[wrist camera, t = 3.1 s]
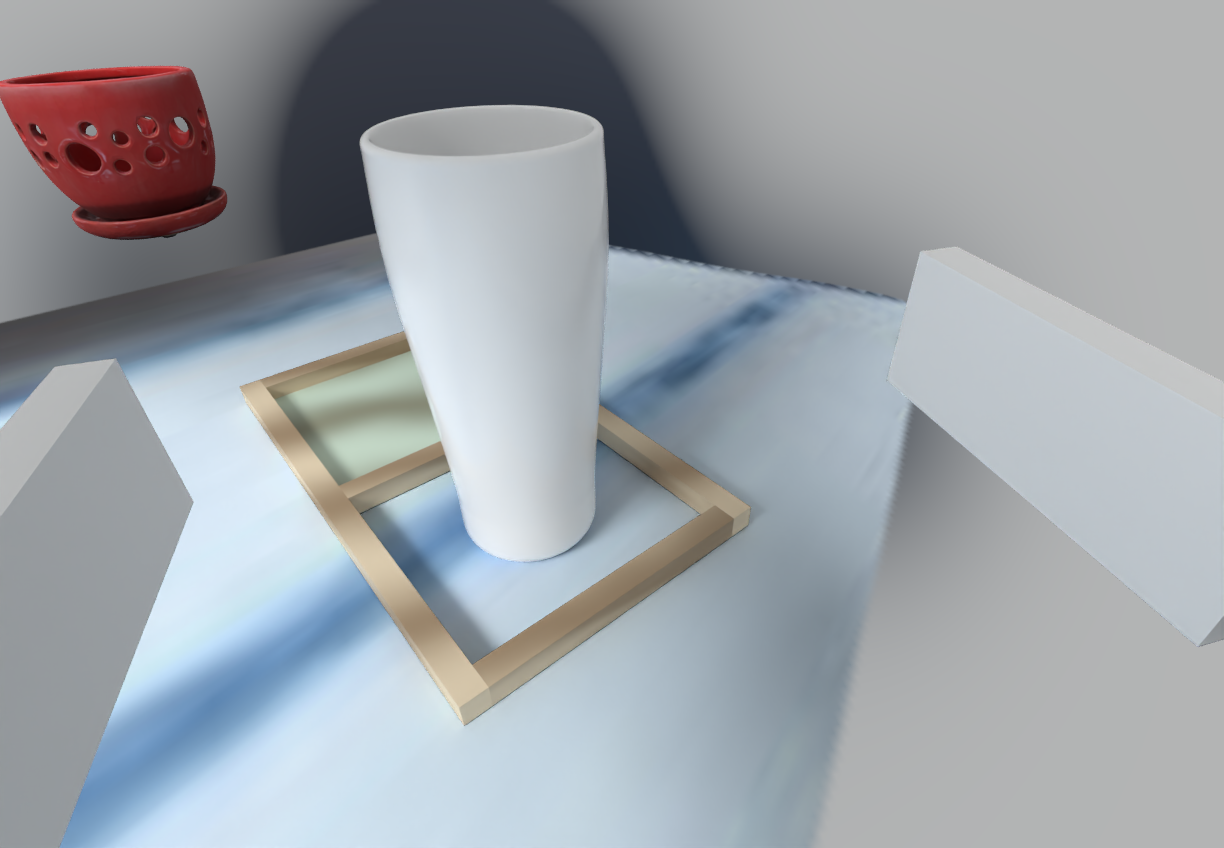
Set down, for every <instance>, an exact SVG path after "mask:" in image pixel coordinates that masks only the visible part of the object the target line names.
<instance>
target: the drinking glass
mask: <svg viewBox="0 0 1224 848" xmlns="http://www.w3.org/2000/svg"><path fill="white" fill-rule="evenodd" d="M360 149H361V153H362V158H363V163H364V169H365V175H366V181H367V186H368V192H369V197H370V203H371V208H372V213H373V218H374V222H375V228H376V232H377V237H378V241H379V245H380V250H381V254H382V258H383V262H384V266H385V270H386V273H387V277H388V281H389V284H390V288H391V291H392V294H393V298H394V301H395V305H396V308H397V311H398V314H399V317H400V320H401V323H402V326H403V329H404V332H405V335H406V338H407V341H408V344H409V347H410V350H411V353H412V356H413V359H414V362H415V365H416V368H417V371H418V374H419V377H420V380H421V383H422V386H423V389H424V392H425V395H426V398H427V401H428V404H429V407H430V410H431V414H432V417H433V420H434V423H435V426H436V429H437V432H438V435H439V438H440V441H441V444H442V447H443V450H444V453H445V456H446V459H447V463H448V466H449V469H450V472H451V475H452V478H453V481H454V485H455V488H456V491H457V494H458V499H459V503H460V508H461V513H462V517H463V522H464V525H465V528H466V531H467V533H468V534H469V536H470V538H471V539H472V540H473V542H474V543H475V544H476V545H477V546H478V547H480V548H481V549H482V550H484V551H485V552H487V553H488V554H490V555H492V556H495V557H497V558H500V559H504V560H509V561H516V562H532V561H539V560H544V559H547V558H551V557H554V556H556V555H559V554H561V553H563V552H565V551H566V550H568V549H570V548H571V547H573V546H574V545H575V544H576V543H578V542H579V541H580V540H581V539H582V537H583V536H584V535H585V534H586V532H587V531H588V529H589V528H590V526H591V524H592V521H593V519H594V515H595V508H596V497H595V463H596V446H597V430H598V415H599V400H600V386H601V371H602V358H603V344H604V330H605V316H606V302H607V285H608V253H609V241H608V240H609V236H608V198H607V179H606V165H605V151H604V133H603V127H602V126H601V124H600V123H599V122H598V121H597V120H596V119H594V118H593V117H590V116H589V115H586V114H583V113H580V112H576V111H572V110H566V109H560V108H552V107H542V106H525V105H489V106H470V107H458V108H448V109H440V110H433V111H427V112H421V113H415V114H410V115H406V116H402V117H398V118H394V119H391V120H388V121H385V122H382V123H379V124H377V125H375V126H373V127H371V128H370V129H368V130H367V131H366V132H365V133H364V134H363V135H362V136H361V139H360Z"/></svg>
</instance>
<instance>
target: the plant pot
mask: <svg viewBox="0 0 1224 848" xmlns="http://www.w3.org/2000/svg"><path fill="white" fill-rule="evenodd" d="M0 98H1V101H2V103H3V105H4V107H5V109H6V111H7V113H8V115H9V117H10V119H11V121H12V123H13V125H14V127H15V129H16V130H17V132H18V134H19V136H20V137H21V139H22V141H23V142H24V144H25V146H26V147H27V149H28V151H29V152H30V154H31V155H32V157H33V158H34V160H35V161H36V162H37V164H38V165H39V166H40V168H41V169H42V170H43V171H44V173H45V174H46V175H47V176H48V178H49V179H50V180H51V181H52V182H53V183H54V184H55V185H56V186H57V187H58V188H59V189H60V190H61V191H62V192H63V193H64V194H65V195H66V196H68V197H69V198H70V199H71V200H73V201H74V202H75V203H76V204H78V205H79V206H80V207H79V208H77V209H76V210H75V211H74V212H73V214H72V218H73V220H74V222H75V223H76V225H77V226H79V227H80V228H81V229H83V230H84V231H86V232H88V233H90V234H93V235H96V236H99V237H103V238H109V239H120V240H124V239H125V240H134V239H148V238H155V237H165V238H168V237H173V236H175V235H176V234H177V233H181V232H184V231H188V230H191V229H194V228H197V227H199V226H202V225H204V224H206V223H208V222H210V221H211V220H213V219H215V218H216V217H218V216H219V215H220V214H221V213H222V212H223V210H224V209H225V207H226V204H227V194H226V192H225V191H224V190H223V189H222V188H220V187H216V186H212V183H213V179H214V173H215V148H214V142H213V135H212V131H211V127H210V123H209V120H208V116H207V112H206V108H205V105H204V101H203V99H202V95H201V92H200V89H199V87H198V84H197V81H196V78H195V76H194V73H193V72H192V70H191V69H189V68H186V67H179V66H141V67H140V66H139V67H117V68H101V69H88V70H77V71H65V72H56V73H47V74H39V75H32V76H26V77H18V78H12V79H8V80H3V81H0ZM145 117H149V118H151V119H147V118H145ZM175 117H181V118H183V119H184V120H185V122H186V123H187V126H188V131H187V132H183V131H181V130H180V129H179V128H178V127H177V125H176V123H175V121H174V118H175ZM137 124H138V125H139V126H140V128H141V130H142V133H141V132H140V131H139V129H138V127H137ZM36 125H37V126H38V127H39V129H40V131H41V134H40V133H39V132H38V131H37V129H36ZM90 125H94V127H95V128H96V130H97V134H96V135H95V136H89V135H87V134H86V128H87V127H88V126H90ZM113 134H114V135H115V141H114V139H113Z"/></svg>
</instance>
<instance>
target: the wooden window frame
mask: <svg viewBox="0 0 1224 848" xmlns="http://www.w3.org/2000/svg"><path fill="white" fill-rule="evenodd" d="M240 389H241V391H242V394H243V396H244V399H245V401H246V403H247V405H248V406H249V408H250V409H251V410H252V412H253V413H254V415H255V416H256V418H257V419H258V421H259V422H260V424H261V425H262V427H263V428H264V430H265V431H266V433H267V434H268V436H269V437H270V439H271V440H272V442H273V443H274V445H275V446H276V448H277V449H278V451H279V452H280V453H281V455H282V456H283V458H284V459H285V461H286V462H287V464H288V465H289V467H290V468H291V470H292V471H293V473H294V474H295V476H296V477H297V479H298V480H299V482H300V483H301V485H302V486H303V488H304V489H305V491H306V492H307V493H308V495H309V496H310V498H311V499H312V501H313V502H314V504H315V505H316V507H317V508H318V510H319V511H320V513H321V514H322V516H323V517H324V519H325V520H326V522H327V523H328V525H329V526H330V528H331V529H332V531H333V532H334V533H335V535H336V536H337V538H338V539H339V541H340V542H341V544H342V545H343V547H344V548H345V550H346V551H347V553H348V554H349V556H350V557H351V559H352V560H353V562H354V563H355V565H356V566H357V568H358V569H359V571H360V572H361V574H362V575H363V576H364V578H365V579H366V581H367V582H368V584H369V585H370V587H371V588H372V590H373V591H374V593H375V594H376V596H377V597H378V599H379V600H380V602H381V603H382V605H383V606H384V608H385V609H386V611H387V612H388V614H389V615H390V616H391V618H392V619H393V621H394V622H395V624H396V625H397V627H398V628H399V630H400V631H401V633H402V634H403V636H404V637H405V639H406V640H407V642H408V643H409V645H410V646H411V648H412V649H413V651H414V652H415V654H416V655H417V656H418V658H419V659H420V661H421V662H422V664H423V665H424V667H425V668H426V670H427V671H428V673H429V674H430V676H431V677H432V679H433V680H434V682H435V683H436V685H437V686H438V688H439V689H440V691H441V692H442V694H443V695H444V697H445V698H446V699H447V701H448V702H449V704H450V705H451V707H452V708H453V710H454V711H455V713H456V714H457V716H458V717H459V719H460V720H461V722H462V723H463V725H464V726H465V725H466V724H468V723H469V722H470V721H472V720H473V719H475V718H476V717H478V716H479V715H480V714H482V713H483V712H485V711H486V710H487V709H489V708H490V707H492V706H493V705H495V704H496V703H497V702H499V701H500V700H502V699H503V698H504V697H506V696H507V695H509V694H510V693H511V692H513V691H514V690H516V689H517V688H519V687H520V686H521V685H523V684H524V683H526V682H527V681H528V680H530V679H531V678H533V677H534V676H536V675H537V674H538V673H540V672H541V671H543V670H544V669H545V668H547V667H548V666H550V665H551V664H552V663H554V662H555V661H557V660H558V659H560V658H561V657H562V656H564V655H565V654H567V653H568V652H569V651H571V650H572V649H574V648H575V647H577V646H578V645H579V644H581V643H582V642H584V641H585V640H586V639H588V638H589V637H591V636H592V635H593V634H595V633H596V632H598V631H599V630H601V629H602V628H603V627H605V626H606V625H608V624H609V623H610V622H612V621H613V620H615V619H616V618H618V617H619V616H620V615H622V614H623V613H625V612H626V611H627V610H629V609H630V608H632V607H633V606H634V605H636V604H637V603H639V602H640V601H642V600H643V599H644V598H646V597H647V596H649V595H650V594H651V593H653V592H654V591H656V590H657V589H659V588H660V587H661V586H663V585H664V584H666V583H667V582H668V581H670V580H671V579H673V578H674V577H675V576H677V575H678V574H680V573H681V572H683V571H684V570H685V569H687V568H688V567H690V566H691V565H692V564H694V563H695V562H697V561H698V560H700V559H701V558H702V557H704V556H705V555H707V554H708V553H709V552H711V551H712V550H714V549H715V548H716V547H718V546H719V545H721V544H722V543H724V542H725V541H726V540H728V539H729V538H731V537H732V536H733V535H735V534H736V533H738V532H739V531H741V530H742V529H743V528H745V527H746V526H748V523H749V517H750V510H751V507H750V506H749V505H747V504H746V503H744V502H743V501H741V500H740V499H738V498H737V497H735V496H734V495H733V494H731V493H730V492H728V491H727V490H725V489H724V488H722V487H721V486H719V485H718V484H716V483H715V482H713V481H712V480H710V479H709V478H707V477H706V476H705V475H703V474H702V473H700V472H699V471H697V470H696V469H694V468H693V467H691V466H690V465H688V464H687V463H685V462H684V461H682V460H681V459H679V458H678V457H677V456H675V455H674V454H672V453H671V452H669V451H668V450H666V449H665V448H663V447H662V446H660V445H659V444H657V443H656V442H654V441H653V440H651V439H650V438H649V437H647V436H646V435H644V434H643V433H641V432H640V431H638V430H637V429H635V428H634V427H632V426H631V425H629V424H628V423H626V422H625V421H623V420H622V419H621V418H619V417H618V416H616V415H615V414H613V413H612V412H610V411H609V410H607V409H606V408H604V407H603V406H601V405H600V404H599V415H598V430H597V438H598V439H599V440H600V441H602V442H603V443H604V444H606V445H607V446H608V447H610V448H611V449H613V450H614V451H615V452H617V453H618V454H619V455H621V456H622V457H623V458H625V459H626V460H628V461H629V462H630V463H632V464H633V465H634V466H636V467H637V468H638V469H640V470H641V471H643V472H644V473H645V474H647V475H648V476H649V477H651V478H652V479H653V480H655V481H656V482H658V483H659V484H660V485H662V486H663V487H664V488H666V489H667V490H668V491H670V492H671V493H673V494H674V495H675V496H677V497H678V498H679V499H681V500H682V501H683V502H685V503H686V504H688V505H689V506H690V507H692V508H693V509H694V510H696V511H697V512H698V513H700V514H701V515H699V516H698V517H696V518H695V519H693V520H692V521H690V522H689V523H687V524H686V525H684V526H682V527H681V528H679V529H678V530H676V531H675V532H673V533H672V534H670V535H669V536H667V537H666V538H664V539H663V540H661V541H660V542H658V543H657V544H655V545H654V546H652V547H651V548H649V549H647V550H646V551H644V552H643V553H641V554H640V555H638V556H637V557H635V558H634V559H632V560H631V561H629V562H628V563H626V564H625V565H623V566H622V567H620V568H619V569H617V570H616V571H614V572H612V573H611V574H609V575H608V576H606V577H605V578H603V579H602V580H600V581H599V582H597V583H596V584H594V585H593V586H591V587H590V588H588V589H587V590H585V591H584V592H582V593H581V594H579V595H577V596H576V597H574V598H573V599H571V600H570V601H568V602H567V603H565V604H564V605H562V606H561V607H559V608H558V609H556V610H555V611H553V612H552V613H550V614H549V615H547V616H546V617H544V618H543V619H541V620H539V621H538V622H536V623H535V624H533V625H532V626H530V627H529V628H527V629H526V630H524V631H523V632H521V633H520V634H518V635H517V636H515V637H514V638H512V639H511V640H509V641H508V642H506V643H504V644H503V645H501V646H500V647H498V648H497V649H495V650H494V651H492V652H491V653H489V654H488V655H486V656H485V657H483V658H482V659H480V660H479V661H477V662H476V663H474V664H473V665H472V664H471V663H470V662H469V660H468V659H467V658H466V656H465V655H464V654H463V652H462V651H461V650H460V648H459V647H458V645H457V644H456V643H455V641H454V640H453V639H452V637H451V636H450V635H449V633H448V632H447V631H446V629H445V628H444V627H443V625H442V624H441V623H440V621H439V620H438V619H437V617H436V616H435V615H434V613H433V612H432V611H431V609H430V608H429V607H428V605H427V604H426V602H425V601H424V600H423V598H422V597H421V596H420V594H419V593H418V592H417V590H416V589H415V588H414V586H413V585H412V584H411V582H410V581H409V580H408V578H407V577H406V576H405V574H404V573H403V572H402V570H401V569H400V568H399V566H398V565H397V564H396V562H395V561H394V560H393V558H392V557H391V555H390V554H389V553H388V551H387V550H386V549H385V547H384V546H383V545H382V543H381V542H380V541H379V539H378V538H377V537H376V535H375V534H374V533H373V531H372V530H371V529H370V527H369V526H368V525H367V523H366V522H365V521H364V519H363V518H362V517H361V515H360V513H362V512H364V511H366V510H368V509H370V508H372V507H374V506H377V505H379V504H381V503H383V502H385V501H387V500H389V499H391V498H393V497H396V496H398V495H400V494H402V493H404V492H406V491H408V490H410V489H412V488H415V487H417V486H419V485H421V484H423V483H425V482H427V481H429V480H431V479H434V478H436V477H438V476H440V475H442V474H444V473H446V472H448V471H450V469H449V466H448V463H447V459H446V456H445V453H444V450H443V447H442V444H441V441H440V438H439V435H438V432H437V429H436V426H435V423H434V420H433V417H432V414H431V410H430V407H429V404H428V401H427V398H426V395H425V392H424V389H423V386H422V383H421V380H420V377H419V374H418V371H417V368H416V365H415V362H414V359H413V356H412V353H411V350H410V347H409V344H408V341H407V338H406V335H405V332H404V331H403V332H400V333H397V334H394V335H391V336H388V337H385V338H382V339H379V340H376V341H373V342H371V343H368V344H365V345H362V346H359V347H356V348H353V349H350V350H347V351H344V352H341V353H338V354H335V355H332V356H329V357H326V358H323V359H320V360H317V361H314V362H311V363H308V364H305V365H302V366H299V367H296V368H293V369H290V370H287V371H284V372H281V373H278V374H275V375H273V376H270V377H267V378H264V379H261V380H258V381H255V382H252V383H249V384H246V385H243V386H240Z"/></svg>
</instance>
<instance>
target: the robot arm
mask: <svg viewBox="0 0 1224 848" xmlns="http://www.w3.org/2000/svg"><path fill="white" fill-rule="evenodd" d="M887 381H888V382H889V383H890V384H891V385H893V386H894V387H895V388H896V389H897V390H898V391H900V392H901V393H902V394H903V395H904V396H905V397H907V398H908V399H909V400H910V401H911V402H912V403H914V404H915V405H916V406H917V407H918V408H919V409H921V410H922V411H923V412H924V413H925V414H926V415H928V416H929V417H930V418H931V419H932V420H933V421H935V422H936V423H937V424H938V425H939V426H940V427H942V428H943V429H944V430H945V431H946V432H947V433H949V434H950V435H951V436H952V437H953V438H954V439H956V440H957V441H958V442H959V443H960V444H961V445H963V446H964V447H965V448H966V449H967V450H968V451H970V452H971V453H972V454H973V455H974V456H975V457H977V458H978V459H979V460H980V461H981V462H982V463H984V464H985V465H986V466H987V467H988V468H989V469H991V470H992V471H993V472H994V473H995V474H997V475H998V476H999V477H1000V478H1001V479H1002V480H1003V481H1005V482H1006V483H1007V484H1008V485H1009V486H1010V487H1012V488H1013V489H1014V490H1015V491H1016V492H1017V493H1019V494H1020V495H1021V496H1022V497H1023V498H1024V499H1026V500H1027V501H1028V502H1029V503H1031V505H1033V506H1034V507H1035V508H1036V509H1037V510H1038V511H1040V512H1041V513H1042V514H1043V515H1044V516H1046V517H1047V518H1048V519H1049V520H1050V521H1051V522H1053V523H1054V524H1055V525H1056V526H1057V527H1058V528H1059V529H1061V530H1062V531H1063V532H1064V533H1065V534H1066V535H1068V536H1069V537H1070V538H1071V539H1072V540H1073V541H1075V542H1076V543H1077V544H1078V545H1079V546H1080V547H1082V548H1083V549H1084V550H1085V551H1086V552H1087V553H1089V554H1090V555H1091V556H1092V557H1093V558H1094V559H1096V560H1097V561H1098V562H1099V563H1100V564H1101V565H1103V566H1104V567H1105V568H1106V569H1107V570H1108V571H1110V572H1111V573H1112V574H1113V575H1114V576H1115V577H1117V578H1118V579H1119V580H1120V581H1121V582H1123V583H1124V584H1125V585H1126V586H1127V587H1128V588H1129V589H1131V590H1132V591H1133V592H1134V593H1135V594H1136V595H1138V596H1139V597H1140V598H1141V599H1142V600H1143V601H1145V602H1146V603H1147V604H1148V605H1149V606H1151V607H1152V608H1153V609H1154V610H1155V611H1156V612H1157V613H1159V614H1160V615H1161V616H1162V617H1163V618H1164V619H1166V620H1167V621H1168V622H1169V623H1170V624H1171V625H1173V626H1174V627H1175V628H1176V629H1177V630H1178V631H1180V632H1181V633H1182V634H1183V635H1184V636H1185V637H1187V638H1188V639H1189V640H1190V641H1191V642H1192V643H1194V644H1195V645H1196V646H1197V647H1200V646H1203V645H1206V644H1210V643H1213V642H1216V641H1220V640H1223V639H1224V382H1223V381H1221V380H1219V379H1217V378H1215V377H1213V376H1211V375H1209V374H1207V373H1205V372H1203V371H1201V370H1199V369H1197V368H1195V367H1193V366H1191V365H1189V364H1187V363H1185V362H1183V361H1181V360H1179V359H1177V358H1175V357H1173V356H1171V355H1169V354H1167V353H1166V352H1164V351H1162V350H1160V349H1158V348H1156V347H1154V346H1152V345H1150V344H1148V343H1146V342H1144V341H1142V340H1140V339H1138V338H1136V337H1134V336H1132V335H1130V334H1128V333H1126V332H1124V331H1122V330H1120V329H1118V328H1116V327H1114V326H1112V325H1110V324H1108V323H1106V322H1104V321H1102V320H1100V319H1099V318H1097V317H1095V316H1093V315H1091V314H1089V313H1087V312H1085V311H1083V310H1081V309H1079V308H1077V307H1075V306H1073V305H1070V304H1069V303H1067V302H1065V301H1063V300H1061V299H1059V298H1057V297H1055V296H1053V295H1051V294H1049V293H1047V292H1045V291H1043V290H1041V289H1039V288H1037V287H1035V286H1034V285H1031V284H1030V283H1027V282H1026V281H1024V280H1022V279H1020V278H1017V277H1015V276H1014V275H1012V274H1010V273H1008V272H1006V271H1004V270H1002V269H1000V268H998V267H996V266H994V265H992V264H990V263H988V262H986V261H984V260H982V259H980V258H978V257H976V256H974V255H972V254H970V253H968V252H966V251H964V250H963V249H961V248H959V247H950V248H942V249H935V250H927V251H920V255H919V258H918V262H917V266H916V270H915V274H914V277H913V281H912V285H911V289H910V293H909V296H908V300H907V304H906V308H905V312H904V315H903V319H902V323H901V327H900V331H899V334H898V338H897V342H896V346H895V350H894V353H893V357H892V361H891V365H890V369H889V372H888V376H887ZM192 505H193V500H192V498H191V496H190V494H189V493H188V491H187V489H186V487H185V485H184V483H183V481H182V480H181V478H180V476H179V474H178V472H177V470H176V469H175V467H174V465H173V463H172V461H171V459H170V458H169V456H168V454H167V452H166V450H165V448H164V446H163V445H162V443H161V441H160V439H159V437H158V435H157V434H156V432H155V430H154V428H153V426H152V424H151V422H150V421H149V419H148V417H147V415H146V413H145V411H144V410H143V408H142V406H141V404H140V402H139V400H138V398H137V397H136V395H135V393H134V391H133V389H132V387H131V386H130V384H129V382H128V380H127V378H126V376H125V375H124V373H123V371H122V369H121V367H120V365H119V363H118V362H117V360H116V359H108V360H101V361H93V362H86V363H78V364H71V365H63V366H56V367H54V368H53V369H52V371H51V372H50V373H49V374H48V375H47V376H46V378H45V379H44V380H43V381H42V382H41V383H40V384H39V386H38V387H37V388H36V389H35V390H34V391H33V393H32V394H31V395H30V396H29V397H28V398H27V399H26V401H25V402H24V403H23V404H22V405H21V406H20V408H19V409H18V410H17V411H16V412H15V413H14V415H13V416H12V417H11V418H10V419H9V420H8V421H7V423H6V424H5V425H4V426H3V427H2V428H1V430H0V848H59V847H60V844H61V842H62V839H63V836H64V834H65V831H66V829H67V826H68V824H69V821H70V818H71V816H72V813H73V811H74V808H75V806H76V803H77V800H78V798H79V795H80V793H81V790H82V788H83V785H84V782H85V780H86V777H87V775H88V772H89V770H90V767H91V764H92V762H93V759H94V757H95V754H96V752H97V749H98V746H99V744H100V741H101V739H102V736H103V734H104V731H105V728H106V726H107V723H108V721H109V718H110V716H111V713H112V710H113V708H114V705H115V703H116V700H117V698H118V695H119V692H120V690H121V687H122V685H123V682H124V680H125V677H126V674H127V672H128V669H129V667H130V664H131V662H132V659H133V656H134V654H135V651H136V649H137V646H138V644H139V641H140V638H141V636H142V633H143V631H144V628H145V626H146V623H147V620H148V618H149V615H150V613H151V610H152V608H153V605H154V602H155V600H156V597H157V595H158V592H159V590H160V587H161V584H162V582H163V579H164V577H165V574H166V572H167V569H168V566H169V564H170V561H171V559H172V556H173V553H174V551H175V548H176V546H177V543H178V541H179V538H180V535H181V533H182V530H183V528H184V525H185V523H186V520H187V517H188V515H189V512H190V510H191V507H192Z"/></svg>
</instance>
